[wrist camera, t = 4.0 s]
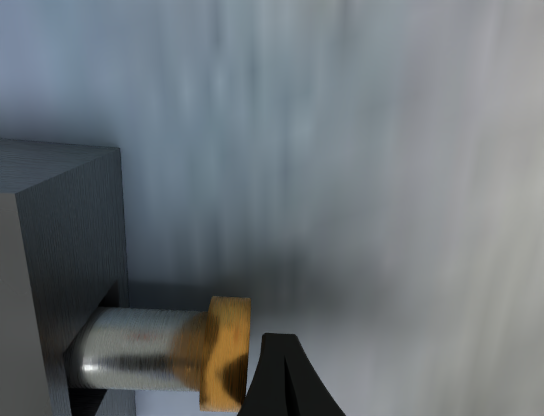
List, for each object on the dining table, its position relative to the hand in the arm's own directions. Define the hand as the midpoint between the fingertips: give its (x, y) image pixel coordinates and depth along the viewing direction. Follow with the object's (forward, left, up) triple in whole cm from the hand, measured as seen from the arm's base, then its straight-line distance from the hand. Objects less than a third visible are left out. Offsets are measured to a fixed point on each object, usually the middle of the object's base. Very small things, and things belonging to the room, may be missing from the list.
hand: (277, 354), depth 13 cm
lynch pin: (+7, 0, -2) cm, 8 cm away
